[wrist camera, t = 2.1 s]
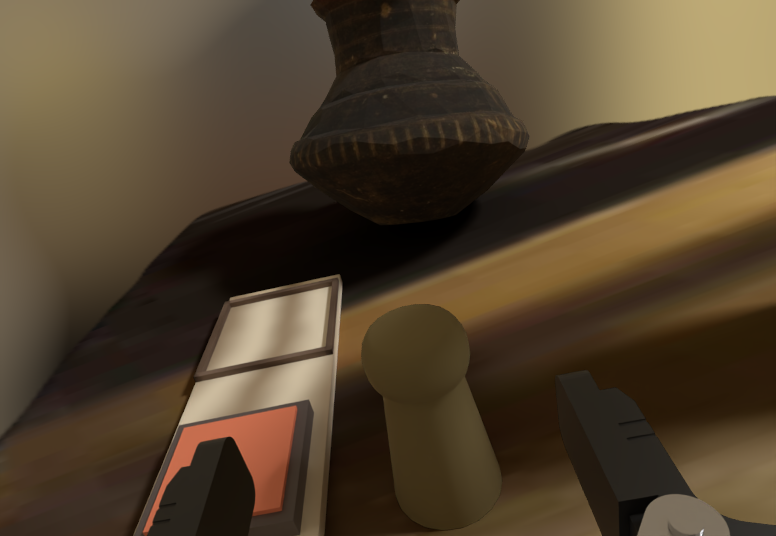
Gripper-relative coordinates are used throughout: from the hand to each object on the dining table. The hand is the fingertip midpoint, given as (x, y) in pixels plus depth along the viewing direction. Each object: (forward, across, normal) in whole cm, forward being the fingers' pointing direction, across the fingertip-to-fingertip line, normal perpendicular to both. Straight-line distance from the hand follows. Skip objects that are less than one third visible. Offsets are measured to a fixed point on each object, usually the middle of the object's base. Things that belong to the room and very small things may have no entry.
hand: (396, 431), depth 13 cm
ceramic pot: (+46, -2, +15) cm, 49 cm away
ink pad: (+14, +12, +16) cm, 24 cm away
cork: (+12, 0, +16) cm, 19 cm away
